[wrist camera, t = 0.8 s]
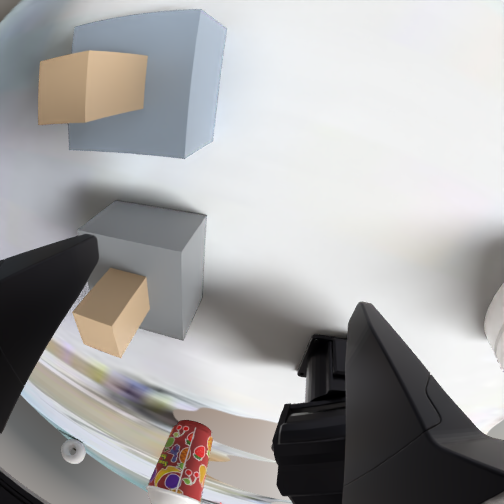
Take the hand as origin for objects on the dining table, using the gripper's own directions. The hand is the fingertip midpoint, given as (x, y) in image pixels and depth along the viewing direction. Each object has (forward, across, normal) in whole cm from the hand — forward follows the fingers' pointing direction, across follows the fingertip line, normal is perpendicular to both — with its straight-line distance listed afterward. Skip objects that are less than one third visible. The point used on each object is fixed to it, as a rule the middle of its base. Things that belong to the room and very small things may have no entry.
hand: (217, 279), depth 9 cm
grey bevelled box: (+13, +8, +8) cm, 17 cm away
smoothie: (+14, +3, +42) cm, 45 cm away
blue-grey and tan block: (+13, +8, -5) cm, 16 cm away
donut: (+14, +45, +96) cm, 107 cm away
